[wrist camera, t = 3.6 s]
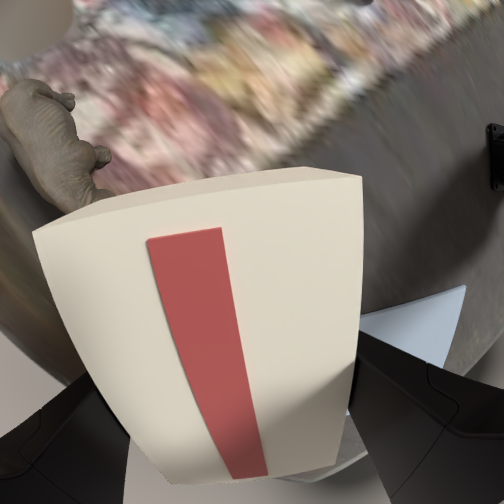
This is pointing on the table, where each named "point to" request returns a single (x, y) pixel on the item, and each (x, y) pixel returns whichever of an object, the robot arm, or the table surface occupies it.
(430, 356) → the mat
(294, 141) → the table surface
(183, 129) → the table surface
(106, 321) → the card box
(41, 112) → the rhino figurine
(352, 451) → the table surface
